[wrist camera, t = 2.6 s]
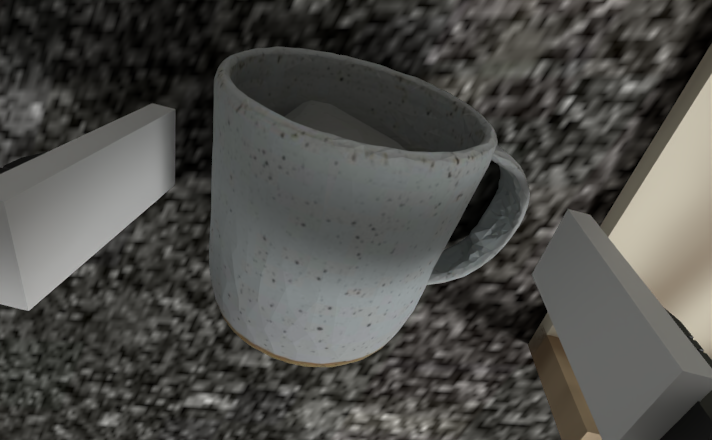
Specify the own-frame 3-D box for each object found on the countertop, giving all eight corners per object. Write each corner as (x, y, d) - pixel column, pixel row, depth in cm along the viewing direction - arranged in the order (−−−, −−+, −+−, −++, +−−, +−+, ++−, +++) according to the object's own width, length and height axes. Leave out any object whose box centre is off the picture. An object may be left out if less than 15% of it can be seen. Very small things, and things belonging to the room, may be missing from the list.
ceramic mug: (242, 229, 19) (159, 368, 12) (264, 32, 14) (157, 77, 8) (472, 283, 19) (516, 445, 12) (556, 107, 15) (687, 210, 8)
